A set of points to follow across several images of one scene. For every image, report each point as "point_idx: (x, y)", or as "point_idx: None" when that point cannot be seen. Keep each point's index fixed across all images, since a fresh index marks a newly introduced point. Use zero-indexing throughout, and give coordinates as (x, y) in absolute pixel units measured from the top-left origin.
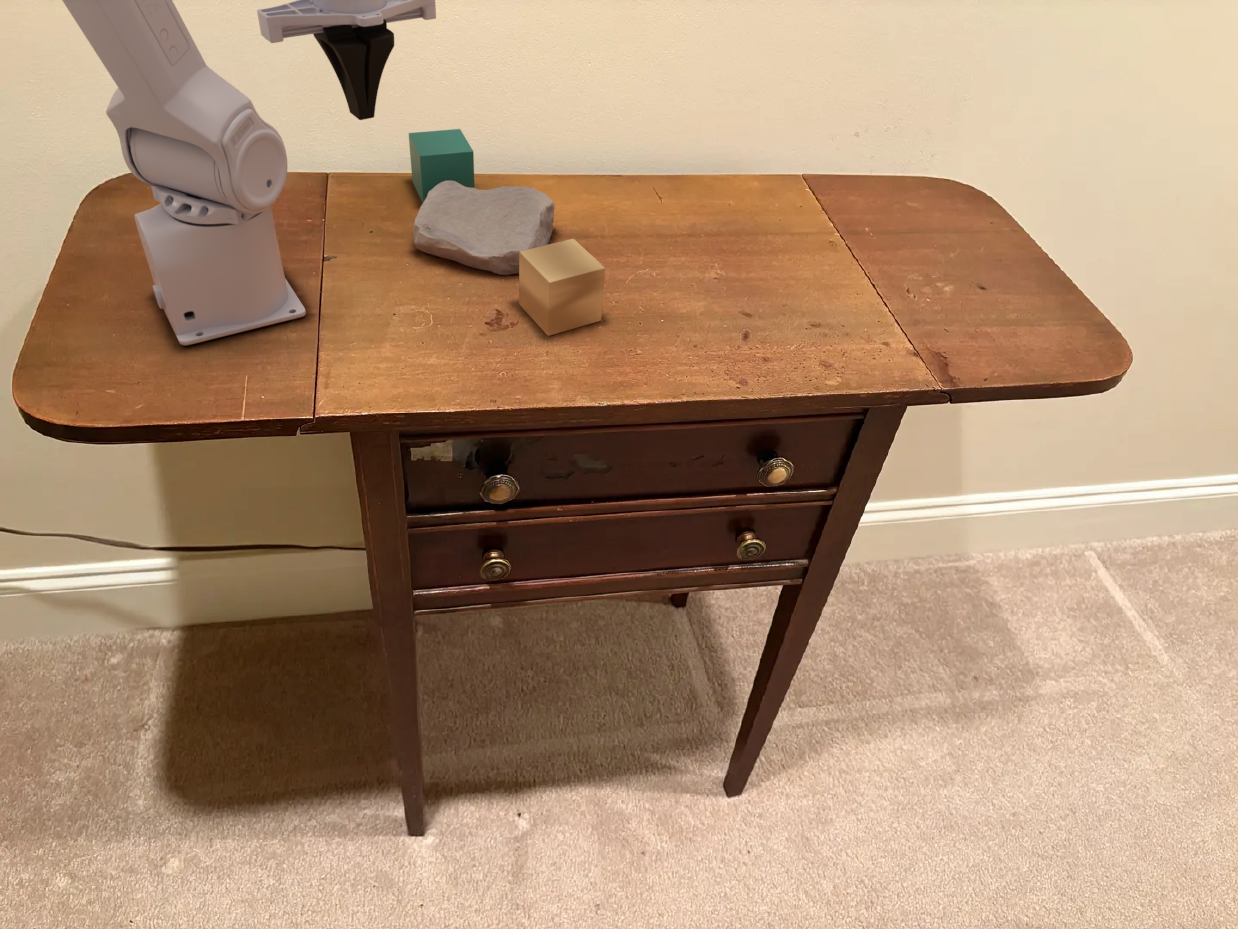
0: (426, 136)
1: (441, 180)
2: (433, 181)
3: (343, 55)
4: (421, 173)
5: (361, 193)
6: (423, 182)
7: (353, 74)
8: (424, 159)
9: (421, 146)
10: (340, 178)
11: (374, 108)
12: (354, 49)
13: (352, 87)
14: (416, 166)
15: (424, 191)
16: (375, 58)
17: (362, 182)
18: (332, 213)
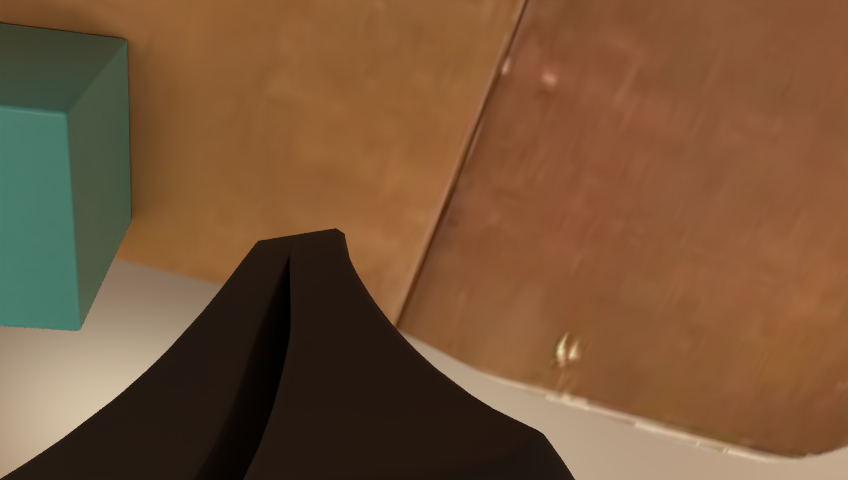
0: (1, 281)
1: (9, 59)
2: (48, 60)
3: (508, 428)
4: (90, 82)
5: (327, 200)
6: (95, 66)
7: (380, 357)
8: (50, 102)
9: (42, 199)
10: None
11: (244, 258)
12: (389, 466)
13: (384, 317)
14: (99, 171)
15: (104, 56)
16: (152, 447)
17: None
18: (462, 101)
